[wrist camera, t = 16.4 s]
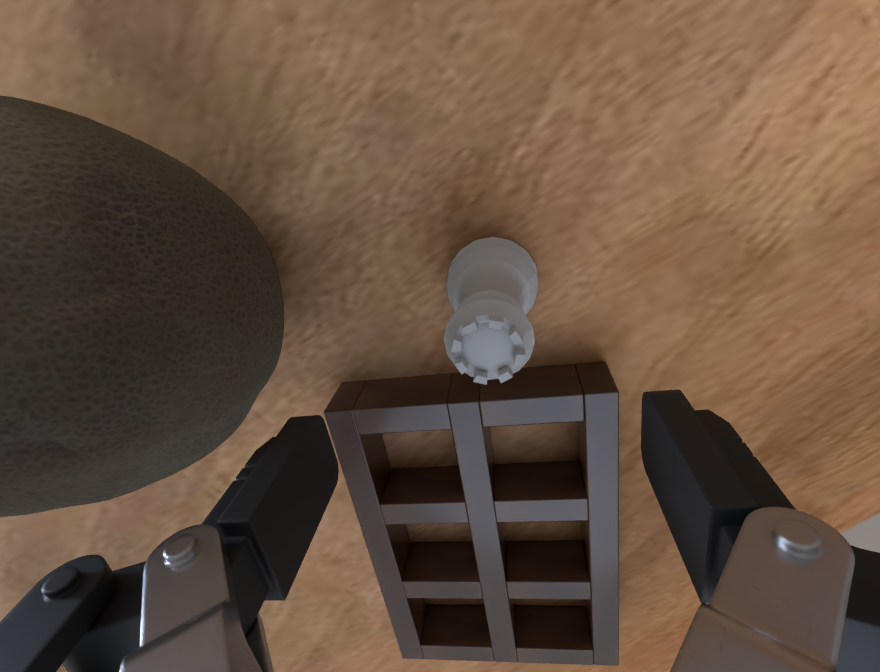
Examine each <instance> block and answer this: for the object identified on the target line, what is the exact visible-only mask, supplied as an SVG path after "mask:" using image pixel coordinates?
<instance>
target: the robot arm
mask: <svg viewBox="0 0 880 672" xmlns="http://www.w3.org/2000/svg"><path fill="white" fill-rule="evenodd" d="M641 451H642V459H643V463H644V467H645V471H646V473H647V476H648V478H649V481H650V483H651V485H652V488H653V490H654V492H655V495H656V497H657V500H658V502H659V504H660V507H661V509H662V511H663V514H664V516H665V519H666V521H667V523H668V526H669V528H670V530H671V533H672V535H673V538H674V540H675V542H676V545H677V547H678V549H679V552H680V554H681V557H682V559H683V561H684V564H685V566H686V568H687V571H688V573H689V576H690V578H691V580H692V583H693V585H694V587H695V590H696V592H697V594H698V597H699V599H700V602H701V603H702V604H701V605H700V607H699V608H698V610H697V612H696V614H695V616H694V618H693V621H692V623H691V625H690V628H689V630H688V632H687V634H686V637H685V639H684V641H683V643H682V646H681V648H680V650H679V652H678V655H677V657H676V659H675V662H674V664H673V666H672V668H671V671H670V672H880V553H877V552H872V551H868V550H864V549H860V548H857V547H854V546H851V545H850V544H849V543H848V542H847V541H846V539H845V538H844V537H843V536H842V535H841V534H840V533H839V532H838V531H837V530H835V529H834V528H833V527H831V526H830V525H828V524H827V523H825V522H824V521H822V520H820V519H818V518H816V517H814V516H812V515H809V514H807V513H804V512H801V511H798V510H796V509H795V508H794V507H793V505H792V504H791V503H790V501H789V500H788V499H787V498H786V496H785V495H784V494H783V492H782V491H781V490H780V488H779V487H778V486H777V485H776V483H775V482H774V481H773V479H772V478H771V477H770V475H769V474H768V473H767V471H766V470H765V469H764V468H763V466H762V465H761V464H760V462H759V461H758V460H757V458H756V457H753V454H752V452H751V451H750V449H749V448H748V447H747V445H746V444H745V443H742V439H741V438H740V436H739V435H738V434H737V432H736V431H735V430H734V428H733V427H732V426H731V425H730V423H729V422H727V421H725V420H724V419H722V418H721V417H719V416H718V415H716V414H715V413H713V412H711V411H710V410H694V409H693V408H692V406H691V405H690V403H689V402H688V400H687V399H686V397H685V396H684V394H683V393H682V392H681V391H680V390H664V391H651V392H644V394H643V397H642V427H641ZM337 481H338V462H337V459H336V455H335V452H334V449H333V446H332V443H331V440H330V437H329V434H328V431H327V428H326V424H325V422H324V420H323V418H322V417H321V416H319V415H314V416H300V417H291V418H290V419H289V420H288V421H287V422H286V424H285V425H284V426H283V428H282V429H281V431H280V432H279V434H278V435H277V436H276V437H272V438H271V439H270V440H269V441H267V442H266V443H265V444H264V445H262V446H261V447H260V448H259V449H257V450H256V451H255V452H254V454H253V455H252V457H251V458H250V459H249V461H248V462H247V463H246V465H245V468H243V469H242V470H241V471H240V473H239V474H238V476H237V477H236V481H233V482H232V484H231V485H230V486H229V488H228V489H227V490H226V492H225V493H224V495H223V496H222V497H221V499H220V500H219V501H218V503H217V504H216V505H215V507H214V508H213V509H212V511H211V512H210V514H209V515H208V516H207V518H206V519H205V520H204V522H203V523H202V524H201V525H195V526H191V527H188V528H185V529H183V530H181V531H179V532H177V533H175V534H173V535H172V536H170V537H169V538H167V539H166V540H165V541H163V542H162V543H161V544H160V545H159V546H158V547H157V548H156V549H155V550H154V551H153V552H152V553H151V555H150V556H149V558H148V559H147V561H146V562H142V563H139V564H135V565H132V566H129V567H125V568H122V569H118V570H115V571H112V570H111V568H110V567H109V565H108V564H107V562H106V561H105V559H104V558H103V557H101V556H99V555H87V556H83V557H79V558H76V559H74V560H71V561H69V562H67V563H65V564H63V565H62V566H60V567H58V568H57V569H55V570H53V571H52V572H50V573H49V574H48V575H46V576H45V577H44V578H43V579H41V580H40V581H39V582H38V583H37V584H36V585H35V586H34V587H33V588H32V589H31V590H30V591H29V592H28V593H27V594H26V595H25V596H24V597H23V598H22V600H21V601H20V602H19V603H18V604H17V605H16V606H15V607H14V608H13V609H12V610H11V611H10V612H9V613H8V614H7V615H6V616H5V618H4V619H3V620H2V621H1V622H0V672H56V671H57V670H58V668H59V667H60V666H61V664H63V665H64V667H65V668H66V669H67V670H68V672H274V671H273V666H272V662H271V657H270V653H269V649H268V644H267V640H266V635H265V631H264V626H263V622H262V619H261V617H260V615H259V613H258V612H259V610H260V608H261V606H262V604H263V602H264V600H285V599H286V597H287V595H288V593H289V590H290V588H291V586H292V584H293V581H294V579H295V577H296V575H297V572H298V570H299V568H300V566H301V563H302V561H303V559H304V557H305V554H306V552H307V550H308V548H309V545H310V543H311V541H312V539H313V536H314V534H315V532H316V530H317V527H318V525H319V523H320V521H321V518H322V516H323V514H324V512H325V509H326V507H327V505H328V503H329V500H330V498H331V496H332V494H333V491H334V489H335V487H336V484H337ZM705 603H709V604H708V605H707V604H705Z"/></svg>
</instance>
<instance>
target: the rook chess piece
mask: <svg viewBox="0 0 880 672" xmlns="http://www.w3.org/2000/svg"><path fill="white" fill-rule="evenodd" d="M446 289H447V293H448V298H449V302H450V305H451V306H452V308H453V309H454V311H455V313H454V314H453V316H452V317H451V318H450V320H449V321H448V323H447V325H446V330H445V334H444V344H445V348H446V352H447V355H448V356H449V358H450V359H451V361H452V362H453V363H454V365H455V366H456V368H457V369H458V370H459V372H460V373H461V374H463V373H466V374H468V375H469V376H471V377H474V380H473V382H476V383H480V384H485V385H487V380H492V379H499V380H500V383H503V382H505V381H506V380H508V379H510V378H512V377H513V373H515V372H517V371H519V370H520V369H521V368H522V367H523V366H524V365H525V363H526V362H527V361H528V360H529V359H530V357H531V354H532V351H533V347H534V344H535V339H534V332H533V326H532V325H531V323H530V322H529V320H528V319H527V317H526V314H527V313H528V312H529V311H530V310H531V308H532V307H533V305H534V302H535V299H536V295H537V292H538V276H537V269H536V265H535V263H534V262H533V260H532V259H531V257H530V255H529V254H528V252H527V251H526V250H525V249H523V248H522V247H520V246H519V245H517V244H516V243H515V242H513V241H511V240H507V239H502V238H497V237H490V238H484V239H479V240H475V241H473V242H472V243H470V244H468V245H467V246H465V247H464V248H462V249H461V250H460V251H459V252H458V254H457V255H456V256H455V258H454V259H453V261H452V262H451V264H450V267H449V272H448V277H447V285H446Z"/></svg>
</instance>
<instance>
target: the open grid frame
mask: <svg viewBox="0 0 880 672" xmlns="http://www.w3.org/2000/svg"><path fill="white" fill-rule="evenodd" d="M473 380H474V377H471V376H469V375H468V374H466V373H463V374H461V373H455V374H441V375H429V376H416V377H404V378H391V379H379V380H368V381H354V382H342V383H341V384H340V386H339V388H338V389H337V391H336V393H335V394H334V396H333V398H332V399H331V401H330V403H329V404H328V406H327V408H326V409H325V411H324V414H325V417H326V421H327V424H328V427H329V430H330V433H331V436H332V439H333V442H334V445H335V449H336V452H337V455H338V458H339V461H340V464H341V467H342V470H343V473H344V476H345V480H346V483H347V486H348V489H349V492H350V495H351V498H352V501H353V504H354V508H355V511H356V514H357V517H358V520H359V523H360V526H361V529H362V532H363V536H364V539H365V542H366V545H367V548H368V551H369V554H370V557H371V560H372V564H373V567H374V570H375V573H376V576H377V579H378V582H379V585H380V588H381V592H382V595H383V598H384V601H385V604H386V607H387V610H388V613H389V616H390V619H391V623H392V626H393V629H394V632H395V635H396V638H397V641H398V644H399V647H400V651H401V654H402V657H403V658H406V659H424V658H425V659H437V660H466V661H496V662H524V663H553V664H582V665H593V664H594V665H615V666H618V665H619V391H618V389H617V386H616V384H615V382H614V379H613V377H612V375H611V372H610V370H609V368H608V365H607V363H606V362H593V363H581V364H575V365H574V364H568V365H556V366H544V367H531V368H521V369H520V370H519V371H517V372H515V373H513V377H512V378H510V379H508V380H506V381H505V382H503V383H500V380H499V379H492V380H487V385H485V384H480V383H476V382H473ZM561 422H578V443H579V461H569V462H546V463H523V464H499V465H494V458H493V451H492V444H491V437H490V430H489V427H492V426H509V425H526V424H543V423H561ZM451 428H452V433H453V438H454V444H455V449H456V455H457V460H458V465H459V466H454V467H431V468H408V469H390V465H389V461H388V457H387V453H386V450H385V446H384V442H383V438H382V435H381V433H394V432H411V431H428V430H446V429H451ZM581 520H582V533H583V542H582V541H526V542H505V535H504V528H503V522H532V521H581ZM433 523H469V525H470V530H471V536H472V541H473V542H431V543H410V540H409V536H408V533H407V529H406V525H405V524H433ZM425 598H459V599H483V600H484V606H483V605H427V604H426V601H425ZM514 599H586V607H563V606H515V604H514Z"/></svg>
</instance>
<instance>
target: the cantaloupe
mask: <svg viewBox="0 0 880 672" xmlns="http://www.w3.org/2000/svg"><path fill="white" fill-rule="evenodd" d="M283 331H284V303H283V296H282V289H281V285H280V280H279V276H278V272H277V269H276V266H275V263H274V260H273V258H272V255H271V253H270V250H269V248H268V246H267V244H266V242H265V241H264V239H263V237H262V235H261V234H260V232H259V230H258V229H257V227H256V226H255V225H254V223H253V222H252V220H251V219H250V218H249V216H248V215H247V214H246V213H245V212H244V211H243V210H242V209H241V208H240V207H239V206H238V205H237V204H236V203H235V202H234V201H233V200H232V199H231V198H229V197H228V196H227V195H226V194H225V193H224V192H223V191H221V190H220V189H219V188H218V187H216V186H215V185H214V184H212V183H211V182H210V181H208V180H207V179H206V178H204V177H203V176H202V175H200V174H199V173H197V172H196V171H194V170H193V169H191V168H190V167H188V166H187V165H185V164H184V163H182V162H180V161H178V160H176V159H175V158H173V157H171V156H169V155H167V154H166V153H164V152H162V151H160V150H158V149H156V148H154V147H152V146H150V145H148V144H146V143H144V142H142V141H140V140H138V139H135V138H133V137H131V136H129V135H127V134H125V133H122V132H120V131H118V130H115V129H113V128H110V127H108V126H106V125H103V124H101V123H98V122H96V121H94V120H91V119H89V118H86V117H83V116H80V115H77V114H74V113H71V112H68V111H65V110H62V109H58V108H54V107H51V106H47V105H44V104H40V103H36V102H32V101H28V100H23V99H18V98H14V97H6V96H0V517H6V516H16V515H27V514H32V513H38V512H43V511H48V510H53V509H58V508H64V507H70V506H77V505H84V504H90V503H96V502H101V501H106V500H110V499H112V498H115V497H118V496H122V495H125V494H128V493H130V492H133V491H136V490H138V489H141V488H143V487H145V486H147V485H149V484H152V483H154V482H156V481H158V480H161V479H164V478H166V477H168V476H170V475H172V474H174V473H176V472H178V471H180V470H182V469H184V468H186V467H188V466H190V465H192V464H193V463H195V462H197V461H199V460H200V459H202V458H203V457H205V456H206V455H208V454H209V453H211V452H212V451H213V450H215V449H216V448H217V447H218V446H219V445H220V444H222V443H223V442H224V441H225V440H226V439H227V438H228V437H229V436H231V435H232V434H233V433H234V432H235V430H236V429H237V428H238V427H239V426H240V424H241V423H242V422H243V420H244V419H245V417H246V415H247V414H248V412H249V410H250V409H251V407H252V405H253V403H254V401H255V399H256V398H257V396H258V394H259V392H260V391H261V390H262V389H263V387H264V386H265V385H266V383H267V382H268V380H269V378H270V377H271V375H272V373H273V371H274V370H275V367H276V365H277V362H278V359H279V356H280V352H281V347H282V341H283Z"/></svg>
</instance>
